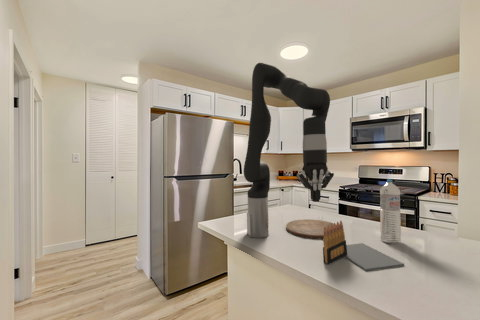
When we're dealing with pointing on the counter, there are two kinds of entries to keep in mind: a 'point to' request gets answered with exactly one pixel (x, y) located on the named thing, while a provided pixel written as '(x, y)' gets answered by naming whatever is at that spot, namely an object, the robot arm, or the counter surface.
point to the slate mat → (369, 258)
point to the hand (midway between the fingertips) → (315, 201)
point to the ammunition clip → (334, 243)
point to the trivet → (308, 228)
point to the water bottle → (390, 213)
